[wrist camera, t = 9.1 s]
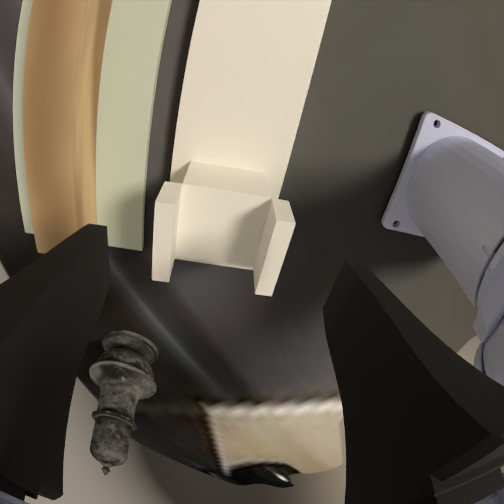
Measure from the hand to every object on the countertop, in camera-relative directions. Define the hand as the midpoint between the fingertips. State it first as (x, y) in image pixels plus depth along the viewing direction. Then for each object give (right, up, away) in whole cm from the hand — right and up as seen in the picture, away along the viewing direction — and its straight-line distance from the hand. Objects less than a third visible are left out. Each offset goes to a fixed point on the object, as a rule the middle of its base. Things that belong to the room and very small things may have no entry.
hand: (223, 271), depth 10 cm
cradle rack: (+1, +11, +4) cm, 11 cm away
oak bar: (-8, +12, +2) cm, 14 cm away
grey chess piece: (-10, -8, +17) cm, 21 cm away
